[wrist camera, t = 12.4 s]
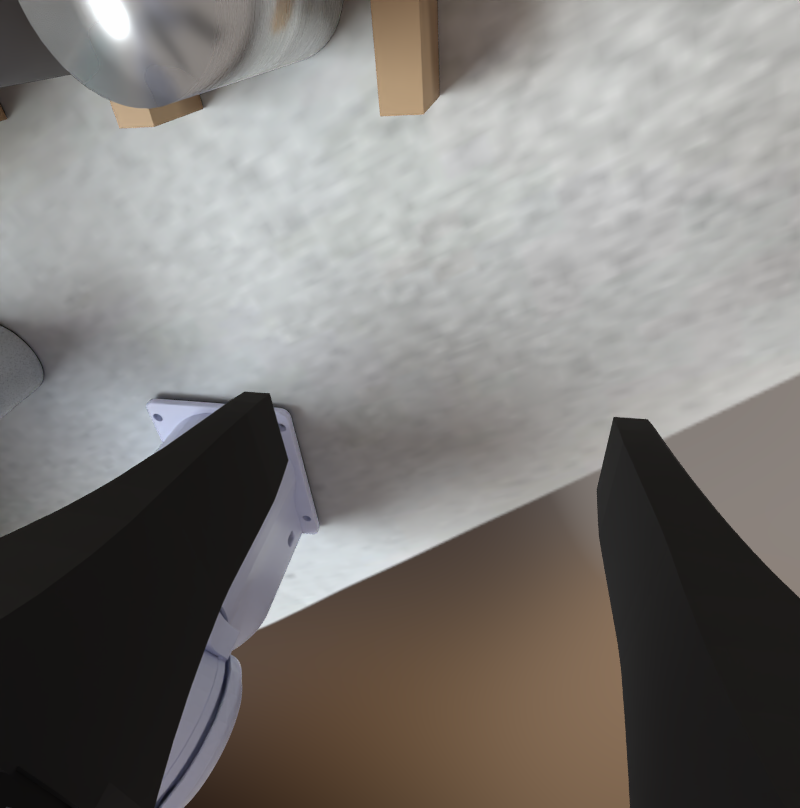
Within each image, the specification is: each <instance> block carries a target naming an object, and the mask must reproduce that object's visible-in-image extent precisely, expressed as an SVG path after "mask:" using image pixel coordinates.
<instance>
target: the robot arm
mask: <svg viewBox="0 0 800 808" xmlns="http://www.w3.org/2000/svg"><path fill="white" fill-rule="evenodd" d="M146 408H147V411H148V413H149V415H150V417H151V419H152V421H153V423H154V425H155V427H156V430H157V432H158V434H159V436H160V438H161V440H162V442H163V443H162V444H161V446H160V447H159V448H158V449H157V450H156V452H155V453H154V454H153V455H151V456H150V457H148V458H147V459H145V460H144V461H142V462H141V463H139V464H137V465H136V466H134V467H133V468H131V469H130V470H128V471H127V472H125V473H124V474H122V475H120V476H119V477H117V478H115V479H114V480H112V481H110V482H109V483H107V484H105V485H104V486H102V487H100V488H98V489H97V490H95V491H93V492H91V493H90V494H88V495H86V496H84V497H82V498H80V499H79V500H77V501H75V502H73V503H71V504H69V505H68V506H66V507H64V508H62V509H60V510H58V511H56V512H54V513H52V514H50V515H47V516H45V517H43V518H41V519H39V520H37V521H35V522H33V523H31V524H29V525H27V526H24V527H22V528H20V529H18V530H16V531H14V532H12V533H10V534H8V535H6V536H3V537H1V538H0V808H184V807H185V806H186V805H187V804H188V802H189V801H190V800H191V799H192V798H193V797H194V796H195V794H196V793H197V792H198V791H199V789H200V788H201V786H202V785H203V784H204V782H205V781H206V779H207V778H208V776H209V774H210V773H211V771H212V770H213V768H214V766H215V765H216V763H217V761H218V759H219V757H220V755H221V754H222V752H223V749H224V748H225V745H226V743H227V741H228V739H229V737H230V734H231V732H232V729H233V727H234V724H235V721H236V718H237V715H238V711H239V707H240V702H241V696H242V682H241V679H242V673H241V666H240V662H239V661H238V660H237V658H236V657H234V656H232V655H230V654H231V651H232V650H234V649H235V648H237V647H239V646H240V645H241V644H243V643H244V642H245V641H246V640H247V639H249V638H250V637H251V636H252V635H253V634H254V633H255V632H256V630H257V629H258V628H259V627H260V626H261V624H262V623H263V621H264V619H265V618H266V616H267V614H268V611H269V609H270V607H271V604H272V602H273V600H274V597H275V595H276V593H277V590H278V588H279V586H280V583H281V581H282V579H283V576H284V574H285V572H286V569H287V567H288V565H289V562H290V560H291V558H292V555H293V553H294V551H295V548H296V546H297V544H298V541H299V539H300V537H301V534H302V533H306V534H316V533H317V532H318V530H319V528H320V525H319V521H318V518H317V514H316V510H315V506H314V502H313V499H312V495H311V491H310V487H309V483H308V480H307V476H306V472H305V468H304V464H303V461H302V457H301V453H300V449H299V445H298V441H297V438H296V434H295V430H294V426H293V422H292V419H291V416H290V414H289V412H288V411H287V410H285V409H282V408H275V407H273V404H272V400H271V397H270V393H255V392H243V393H242V394H240V395H239V396H237V397H235V398H234V399H232V400H231V401H229V402H228V403H226V404H221V403H208V402H194V401H181V400H167V399H151V400H150V401H149V402H148V403H147V404H146ZM281 424H283V425H284V426H282V425H281ZM597 506H598V507H597V508H598V526H599V539H600V545H601V551H602V557H603V562H604V569H605V574H606V580H607V585H608V591H609V597H610V602H611V608H612V614H613V619H614V625H615V631H616V636H617V642H618V649H619V657H620V664H621V673H622V687H623V701H624V714H625V728H626V743H627V760H628V776H629V795H630V808H800V598H799V597H798V596H797V595H796V594H795V593H794V592H793V591H792V590H791V589H790V588H789V587H788V586H787V585H785V584H784V583H783V582H782V581H781V580H780V579H779V578H778V577H777V576H776V575H775V574H774V573H773V572H772V571H771V570H770V569H769V568H768V567H767V566H766V565H765V564H764V563H763V562H762V561H761V559H760V558H759V557H758V556H757V555H756V554H755V553H754V552H753V551H752V550H751V549H750V548H749V547H748V545H747V544H746V543H745V542H744V541H743V540H742V539H741V538H740V537H739V535H738V534H737V533H736V532H735V531H734V530H733V529H732V528H731V526H730V525H729V524H728V523H727V522H726V521H725V519H724V518H723V517H722V516H721V515H720V513H719V512H718V511H717V510H716V509H715V507H714V506H713V505H712V504H711V502H710V501H709V500H708V499H707V497H706V496H705V495H704V494H703V493H702V491H701V490H700V489H699V488H698V486H697V485H696V484H695V483H694V481H693V480H692V479H691V477H690V476H689V475H688V474H687V472H686V471H685V469H684V468H683V467H682V465H681V464H680V463H679V461H678V460H677V459H676V457H675V456H674V455H673V453H672V452H671V450H670V449H669V448H668V446H667V445H666V443H665V442H664V441H663V439H662V438H661V436H660V435H659V434H658V432H657V431H656V429H655V428H654V426H653V425H652V424H651V423H650V422H649V420H648V419H635V418H620V417H614V418H613V422H612V426H611V431H610V435H609V439H608V444H607V448H606V452H605V456H604V461H603V465H602V469H601V474H600V478H599V482H598V487H597Z"/></svg>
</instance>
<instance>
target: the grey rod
mask: <svg viewBox="0 0 800 808" xmlns="http://www.w3.org/2000/svg"><path fill="white" fill-rule="evenodd" d="M18 1H19V3H20V5H21V8H22V10H23V11H24V13H25V15H26V17H27V19H28V20H29V22H30V24H31V26H32V27H33V29H34V30H35V32H36V33H37V35H38V36H39V38H40V39H41V41H42V42H43V43H44V45H45V46H46V47H47V49H48V50H49V51H50V52H51V54H52V55H53V56H54V57H55V58H56V59H57V60H58V62H59V63H60V64H61V65H62V66H63V67H64V68H65V69H66V70H67V71H68V72H69V73H70V74H71V75H73V76H74V77H75V78H76V79H77V80H78V81H80V82H81V83H82V84H84V85H85V86H86V87H87V88H89V89H90V90H92V91H94V92H95V93H97V94H99V95H100V96H102V97H104V98H106V99H108V100H110V101H112V102H115V103H118V104H121V105H124V106H128V107H134V108H147V109H150V108H157V107H162V106H165V105H168V104H171V103H174V102H177V101H180V100H183V99H186V98H190V97H193V96H196V95H199V94H202V93H205V92H208V91H211V90H214V89H217V88H220V87H223V86H226V85H229V84H232V83H235V82H238V81H241V80H244V79H247V78H250V77H253V76H256V75H259V74H263V73H266V72H269V71H272V70H275V69H278V68H281V67H284V66H287V65H290V64H293V63H296V62H299V61H302V60H305V59H308V58H309V57H311V56H313V55H315V54H316V53H317V52H319V51H320V50H321V49H322V48H323V47H324V46H325V45H326V44H327V42H328V41H329V39H330V38H331V37H332V35H333V33H334V31H335V29H336V27H337V24H338V21H339V19H340V15H341V11H342V6H343V0H18Z"/></svg>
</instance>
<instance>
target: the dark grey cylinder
mask: <svg viewBox="0 0 800 808" xmlns="http://www.w3.org/2000/svg"><path fill="white" fill-rule="evenodd" d="M65 75H70V73H69V72H68V71H67V70H66V69H65V68H64V67H63V66H62V65H61V64H60V63H59V62H58V60H57V59H56V58H55V57H54V56H53V55H52V54H51V52H50V51H49V50H48V49H47V47H46V46H45V45H44V43H43V42H42V41H41V39H40V38H39V36H38V35H37V33H36V32H35V30H34V29H33V27H32V26H31V24H30V22H29V20H28V19H27V17H26V15H25V13H24V11H23V10H22V8H21V5H20V3H19V1H18V0H0V88H1V87H6V86H11V85H17V84H22V83H27V82H33V81H38V80H43V79H49V78H54V77H59V76H65Z"/></svg>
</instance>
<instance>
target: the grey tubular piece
mask: <svg viewBox="0 0 800 808" xmlns="http://www.w3.org/2000/svg"><path fill="white" fill-rule="evenodd" d="M42 381H43V369H42V366H41V364H40V362H39V360H38V358H37V356H36V355H35V354H34V352H33V351H32V350H31V348H30V347H29V346H28V345H27V344H26V343H25V342H24V341H23V340H22V339H20V338H19V337H18V336H17V335H15V334H14V333H12V332H11V331H9V330H8V329H6V328H4V327H2V326H0V419H1V418H2V417H3V416H4V415H6V414H7V413H8V412H9V411H10V410H12V409H13V408H14V407H15V406H17V405H18V404H19V403H20V402H22V401H23V400H24V399H25V398H27V397H28V396H29V395H30V394H31V393H33V392H34V391H35V390H36V389H37V388H38V387H39V386H40V385H41V384H42Z"/></svg>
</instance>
